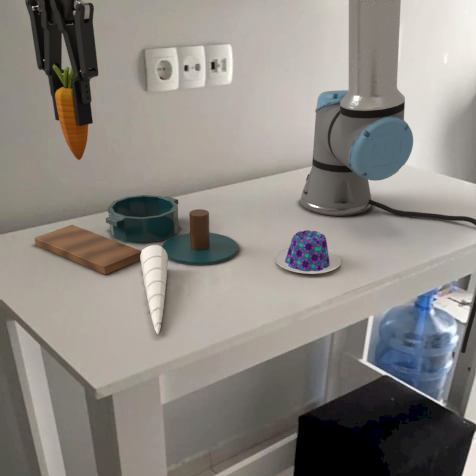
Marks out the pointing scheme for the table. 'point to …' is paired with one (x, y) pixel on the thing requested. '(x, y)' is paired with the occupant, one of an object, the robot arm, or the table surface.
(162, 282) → the unicorn horn
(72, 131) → the carrot
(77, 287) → the table surface
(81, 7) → the robot arm
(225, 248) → the lid
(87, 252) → the board
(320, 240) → the pudding
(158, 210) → the pot
